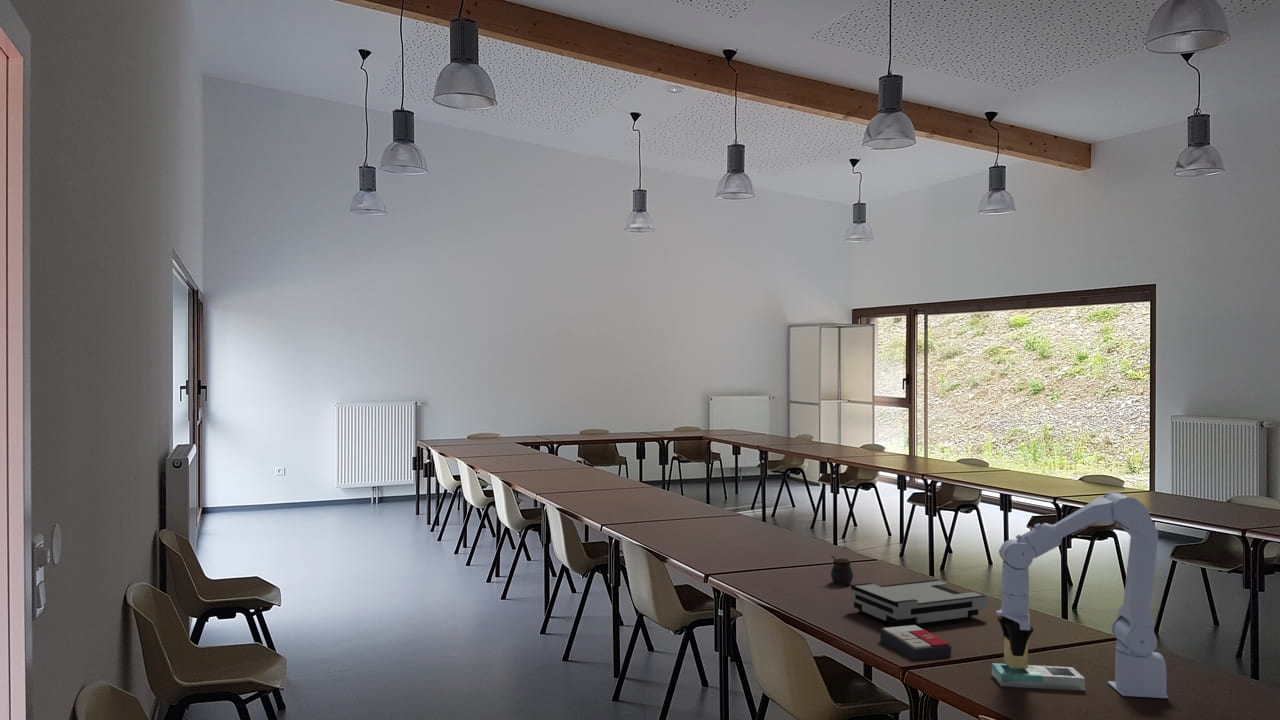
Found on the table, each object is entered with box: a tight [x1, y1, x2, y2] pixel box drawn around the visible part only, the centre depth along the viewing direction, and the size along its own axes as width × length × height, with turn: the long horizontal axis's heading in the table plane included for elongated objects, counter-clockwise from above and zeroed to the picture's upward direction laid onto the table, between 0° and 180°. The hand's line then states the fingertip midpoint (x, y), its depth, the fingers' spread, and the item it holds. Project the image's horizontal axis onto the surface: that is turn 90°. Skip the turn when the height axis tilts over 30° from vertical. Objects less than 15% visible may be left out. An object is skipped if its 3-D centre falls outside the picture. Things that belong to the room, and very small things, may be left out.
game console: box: [850, 579, 988, 629], centre depth 245 cm, size 21×32×8 cm, turn 113°
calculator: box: [879, 625, 952, 661], centre depth 216 cm, size 11×4×15 cm
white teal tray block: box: [991, 662, 1086, 692], centre depth 193 cm, size 18×7×3 cm, turn 83°
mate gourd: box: [829, 553, 854, 586], centre depth 281 cm, size 7×8×10 cm
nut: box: [1003, 635, 1029, 669], centre depth 193 cm, size 4×4×6 cm
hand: (1014, 652), depth 193 cm, fingers closed on nut, 4 cm apart
